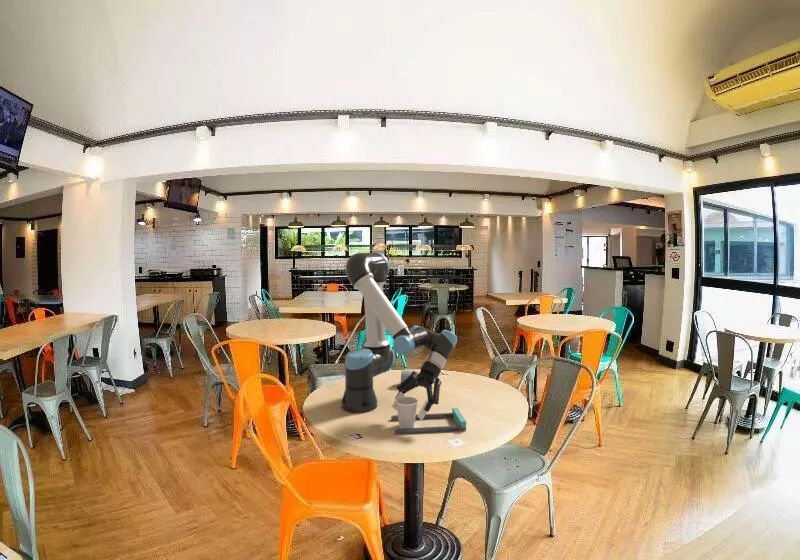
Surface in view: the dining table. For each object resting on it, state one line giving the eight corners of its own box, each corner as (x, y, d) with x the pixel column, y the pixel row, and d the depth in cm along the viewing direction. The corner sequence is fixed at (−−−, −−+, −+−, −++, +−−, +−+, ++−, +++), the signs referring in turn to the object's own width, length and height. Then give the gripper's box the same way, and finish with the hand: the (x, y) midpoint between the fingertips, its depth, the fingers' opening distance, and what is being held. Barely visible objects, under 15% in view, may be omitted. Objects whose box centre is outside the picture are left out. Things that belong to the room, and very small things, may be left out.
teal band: (460, 430, 162) (460, 421, 161) (452, 416, 175) (452, 407, 175) (466, 430, 162) (466, 421, 162) (457, 416, 175) (457, 407, 175)
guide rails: (394, 434, 159) (394, 430, 159) (391, 419, 172) (391, 415, 172) (464, 430, 162) (464, 426, 162) (455, 416, 175) (456, 412, 175)
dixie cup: (404, 419, 172) (404, 394, 171) (422, 425, 166) (422, 399, 166) (391, 426, 165) (391, 400, 164) (408, 432, 160) (408, 406, 159)
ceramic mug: (417, 388, 208) (417, 372, 208) (400, 388, 209) (400, 372, 208) (418, 381, 219) (418, 366, 218) (401, 381, 219) (401, 366, 219)
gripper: (462, 377, 167) (436, 427, 158) (415, 364, 184) (389, 408, 175) (453, 366, 162) (426, 417, 153) (406, 354, 180) (379, 399, 171)
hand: (406, 413), depth 164 cm, fingers open, 13 cm apart
